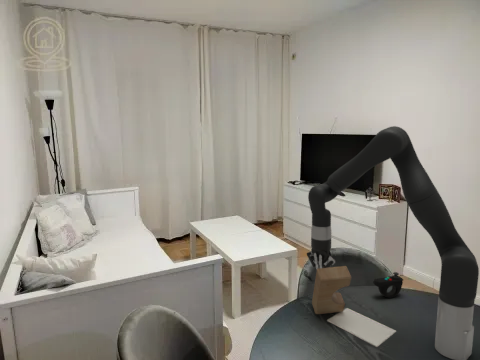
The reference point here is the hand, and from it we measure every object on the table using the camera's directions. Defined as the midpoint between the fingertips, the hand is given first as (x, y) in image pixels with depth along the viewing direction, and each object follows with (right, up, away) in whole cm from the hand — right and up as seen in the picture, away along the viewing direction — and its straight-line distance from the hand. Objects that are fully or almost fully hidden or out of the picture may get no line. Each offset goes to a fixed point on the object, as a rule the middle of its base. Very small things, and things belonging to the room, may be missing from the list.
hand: (320, 278), depth 133 cm
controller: (+30, -10, +8) cm, 32 cm away
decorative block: (+2, -11, -1) cm, 11 cm away
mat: (+11, -14, -12) cm, 21 cm away
